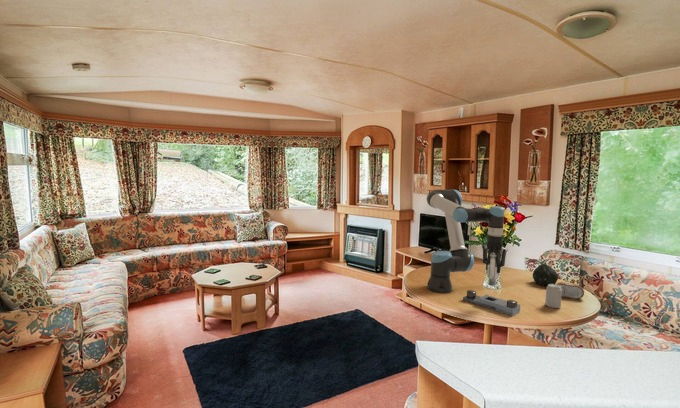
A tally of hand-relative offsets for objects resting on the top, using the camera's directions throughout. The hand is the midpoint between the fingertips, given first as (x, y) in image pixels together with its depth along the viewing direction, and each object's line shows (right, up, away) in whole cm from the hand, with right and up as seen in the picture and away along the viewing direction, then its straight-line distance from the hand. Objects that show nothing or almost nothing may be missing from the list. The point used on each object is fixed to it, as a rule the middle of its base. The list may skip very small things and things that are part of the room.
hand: (492, 277), depth 201 cm
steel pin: (0, -4, 0) cm, 4 cm away
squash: (+52, -13, +42) cm, 68 cm away
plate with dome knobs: (0, -16, +2) cm, 16 cm away
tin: (+53, -16, +19) cm, 59 cm away
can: (+35, -17, +4) cm, 39 cm away
